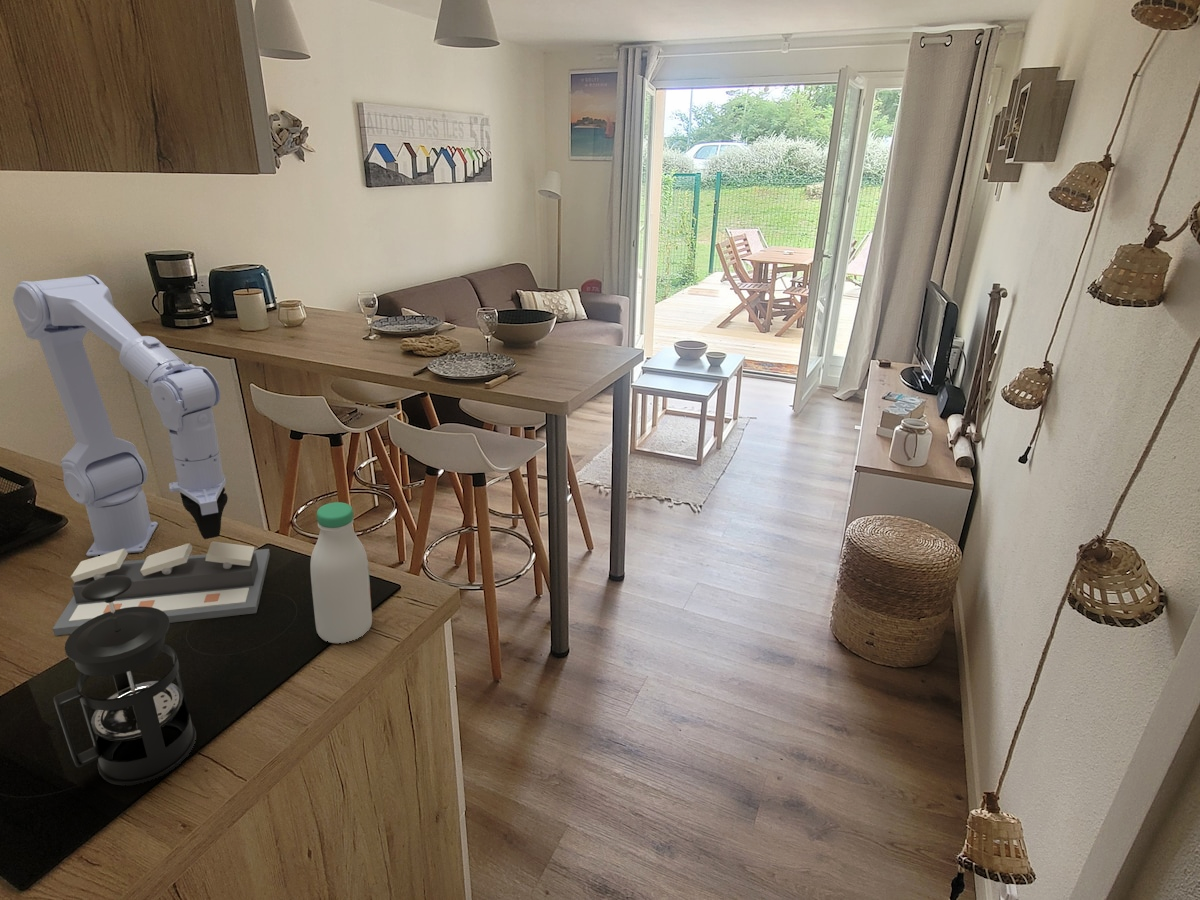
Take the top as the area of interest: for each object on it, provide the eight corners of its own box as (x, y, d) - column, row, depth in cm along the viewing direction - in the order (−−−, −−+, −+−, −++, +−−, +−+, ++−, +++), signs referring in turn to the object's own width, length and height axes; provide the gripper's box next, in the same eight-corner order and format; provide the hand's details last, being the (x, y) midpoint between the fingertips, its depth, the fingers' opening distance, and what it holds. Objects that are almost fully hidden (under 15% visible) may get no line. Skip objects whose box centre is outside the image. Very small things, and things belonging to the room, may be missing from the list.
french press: (186, 703, 82) (151, 546, 73) (215, 748, 77) (182, 584, 67) (69, 757, 74) (14, 587, 65) (92, 812, 69) (36, 635, 59)
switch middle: (154, 566, 101) (147, 555, 100) (195, 553, 102) (189, 543, 101) (146, 581, 98) (140, 570, 97) (189, 567, 99) (183, 557, 98)
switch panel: (95, 570, 105) (89, 548, 103) (269, 554, 112) (267, 534, 111) (54, 635, 91) (47, 612, 89) (256, 613, 99) (253, 590, 97)
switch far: (209, 552, 103) (211, 541, 102) (252, 557, 105) (254, 546, 105) (204, 566, 100) (206, 555, 99) (248, 571, 102) (250, 560, 101)
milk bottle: (374, 639, 96) (366, 519, 88) (316, 649, 93) (303, 526, 85) (370, 607, 102) (363, 493, 94) (316, 616, 99) (303, 498, 91)
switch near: (88, 571, 99) (80, 561, 98) (131, 558, 100) (124, 548, 99) (78, 587, 95) (70, 577, 94) (123, 573, 96) (115, 563, 95)
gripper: (159, 438, 98) (174, 519, 103) (168, 479, 87) (185, 565, 92) (213, 431, 101) (226, 509, 107) (228, 469, 91) (241, 553, 96)
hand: (210, 534), depth 100 cm, fingers closed
